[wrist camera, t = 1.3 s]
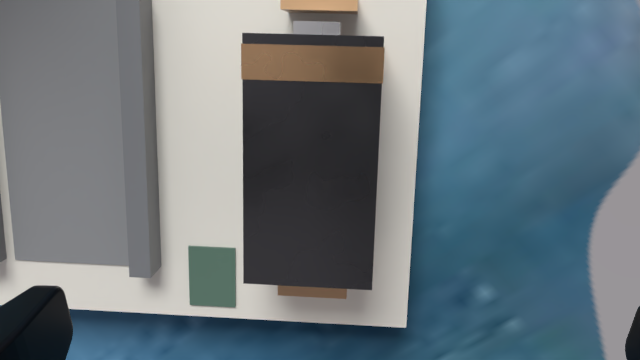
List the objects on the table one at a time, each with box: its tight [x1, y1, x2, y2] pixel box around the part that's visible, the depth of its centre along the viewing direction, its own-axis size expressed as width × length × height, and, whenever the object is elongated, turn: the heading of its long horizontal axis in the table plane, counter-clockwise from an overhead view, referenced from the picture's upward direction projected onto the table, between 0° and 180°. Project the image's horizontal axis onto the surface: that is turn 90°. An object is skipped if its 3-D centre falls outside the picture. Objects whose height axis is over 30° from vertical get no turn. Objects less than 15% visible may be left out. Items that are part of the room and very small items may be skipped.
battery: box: [241, 21, 385, 290], centre depth 20 cm, size 8×4×4 cm, turn 179°
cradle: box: [0, 0, 427, 328], centre depth 22 cm, size 14×18×4 cm
